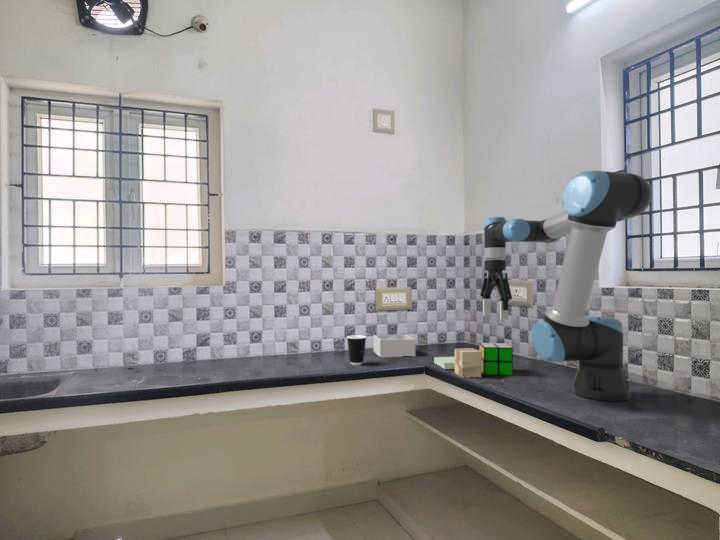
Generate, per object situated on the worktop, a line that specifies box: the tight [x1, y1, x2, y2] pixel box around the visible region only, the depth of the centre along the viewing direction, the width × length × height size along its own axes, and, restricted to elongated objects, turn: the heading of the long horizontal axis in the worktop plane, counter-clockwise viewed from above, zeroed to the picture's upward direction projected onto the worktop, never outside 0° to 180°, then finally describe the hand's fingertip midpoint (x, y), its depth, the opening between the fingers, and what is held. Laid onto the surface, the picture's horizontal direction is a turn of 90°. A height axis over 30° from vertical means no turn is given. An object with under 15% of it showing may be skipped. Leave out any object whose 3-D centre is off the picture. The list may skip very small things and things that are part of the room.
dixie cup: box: [346, 334, 367, 366], centre depth 176 cm, size 8×8×11 cm
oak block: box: [454, 347, 482, 379], centre depth 156 cm, size 7×7×9 cm
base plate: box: [433, 356, 455, 370], centre depth 172 cm, size 12×12×2 cm
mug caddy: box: [373, 334, 416, 358], centre depth 199 cm, size 16×16×8 cm
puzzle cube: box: [479, 342, 514, 377], centre depth 161 cm, size 10×10×10 cm
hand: (495, 317), depth 161 cm, fingers open, 13 cm apart
